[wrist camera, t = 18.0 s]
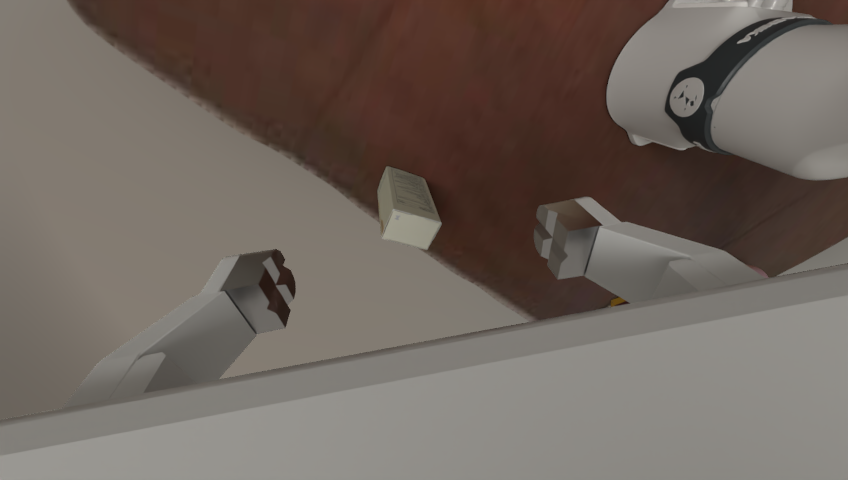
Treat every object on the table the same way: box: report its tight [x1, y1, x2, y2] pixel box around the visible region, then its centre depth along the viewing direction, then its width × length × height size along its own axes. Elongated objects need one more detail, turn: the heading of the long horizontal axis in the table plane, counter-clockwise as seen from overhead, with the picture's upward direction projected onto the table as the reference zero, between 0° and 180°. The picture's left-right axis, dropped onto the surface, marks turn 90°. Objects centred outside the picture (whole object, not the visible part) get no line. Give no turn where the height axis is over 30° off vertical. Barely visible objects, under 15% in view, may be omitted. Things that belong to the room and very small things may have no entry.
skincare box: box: [377, 166, 442, 250], centre depth 40 cm, size 6×4×12 cm
